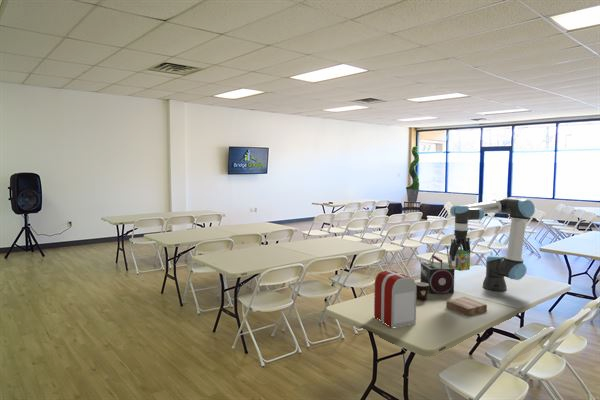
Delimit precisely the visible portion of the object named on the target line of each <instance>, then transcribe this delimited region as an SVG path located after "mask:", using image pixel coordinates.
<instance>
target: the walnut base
mask: <svg viewBox="0 0 600 400" xmlns="http://www.w3.org/2000/svg"><path fill="white" fill-rule="evenodd" d="M445 302H446V305H445V307H446V308H448V309H450V310H453V311H455V312H457V313H459V314H463V315H465V316H468V317H470V316H473V315H476V314H481V313H485V312H487V311H488V310H487V309H488V305H487V304H486V303H483V302H480V301H477V300H475V299H473V298H469V297H467V296H462V297H461V296H460V297H457V298H453V299H449V300H448V299H447V300H446V301H445Z"/></svg>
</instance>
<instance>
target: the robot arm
mask: <svg viewBox="0 0 600 400" xmlns="http://www.w3.org/2000/svg"><path fill="white" fill-rule="evenodd" d="M535 211H536V209H535V205H534V203H533V201H532V200H530V199H527V198H519V197H503V198H498V199H492V200H491V201H488V202H487V201H486V202H479V203H472V204H458V205H452V206H451V207H450V212H449V213H450V215H451V216H452V217H454V231H453V232H454V233H453V235H454V238H451V239H450V241H451V242H450V246H449V250H450V251H449V250H448V254H450V255H451V256H452V257H451V260H452V266H456V256H455V255H456V252H457V250H458V249H459V248H460V247H459V246H460V245H461V246H462V250H465V251H468V252H470V254H471V251H472V250H471V245H470V244H471V242H470V241H471V239H470V237H468V229H469V228H468V226H469V225H468V224H469V221H478V220H482V219H484V217H485V214H490V213H492V214H504V215H509V219H510V220H511V221H510V222H511V223H510V227H509V228H510V229H509V237H508V243H507V244H508V245H507V250H506V251H507V252H506V255H500V254H498V255H497V254H496V255H495V254H493V255H488V256H487V257H486V261H485V262H486V264H485V277H484V280H483V282H482V287H483V288H484V289H486V290H489V291H490V290H491V291H497V292H502V291H503V292H504V291H507V284H506V283H507V282H506V279H505V278H508V279H510V280H515V281H520V280H522V279H523V278H524V277H525V276H526V274H527V267H526V264H524V259H523V258H522V254H523V247H524V246H523V245H524V239H525V233H526V232H525V231H526V225H527V222H528V221H529V220H530V218H531V217H533V215H534V214H535Z"/></svg>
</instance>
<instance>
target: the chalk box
mask: <svg viewBox="0 0 600 400" xmlns="http://www.w3.org/2000/svg"><path fill="white" fill-rule="evenodd" d="M459 248H460V249H459ZM449 251H450V249H448V252H449ZM468 251H469V250H468ZM468 251H465V250H463V248H462V245H460V246H459V247H458V250H457V252H456V255H455V256H456V266H452V260H451V257H452V256H451V255H450V254H449V253H448V254H449V268H451V269H455V270H456V271H459V272H461V271H468V270H470V263H471V253H470V252H468Z"/></svg>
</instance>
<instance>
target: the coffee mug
mask: <svg viewBox="0 0 600 400" xmlns="http://www.w3.org/2000/svg"><path fill="white" fill-rule="evenodd" d="M415 283H416V301H420V300H421V301H420V302H423V301H424V300H425V301H427V298H428V294H429V293H428V286H429V284H427V283H424V282H420V281H415ZM425 301H424V302H425Z"/></svg>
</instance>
